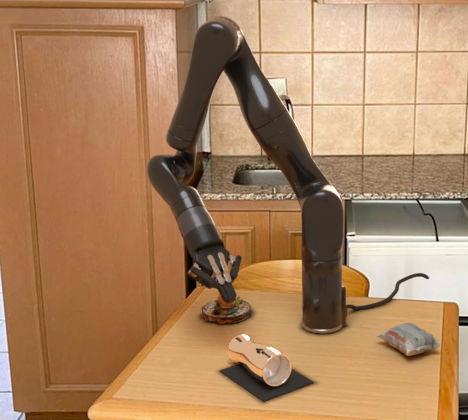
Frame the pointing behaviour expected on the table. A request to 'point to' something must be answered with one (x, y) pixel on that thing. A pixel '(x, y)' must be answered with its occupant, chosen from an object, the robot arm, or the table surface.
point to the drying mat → (262, 389)
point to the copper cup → (260, 360)
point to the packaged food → (409, 339)
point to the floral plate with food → (226, 311)
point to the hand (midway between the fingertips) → (231, 301)
